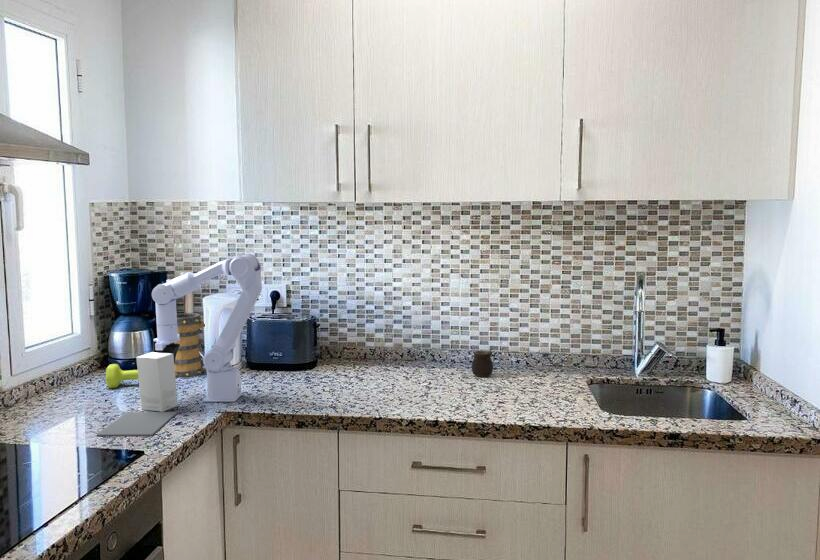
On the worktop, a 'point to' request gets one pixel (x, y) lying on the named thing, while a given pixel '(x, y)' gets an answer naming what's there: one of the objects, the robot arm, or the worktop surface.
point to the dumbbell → (118, 375)
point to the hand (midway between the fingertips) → (169, 369)
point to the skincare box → (157, 381)
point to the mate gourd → (482, 363)
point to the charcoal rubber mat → (138, 424)
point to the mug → (188, 345)
